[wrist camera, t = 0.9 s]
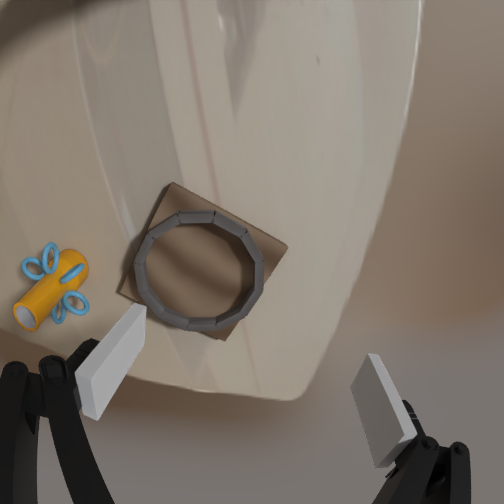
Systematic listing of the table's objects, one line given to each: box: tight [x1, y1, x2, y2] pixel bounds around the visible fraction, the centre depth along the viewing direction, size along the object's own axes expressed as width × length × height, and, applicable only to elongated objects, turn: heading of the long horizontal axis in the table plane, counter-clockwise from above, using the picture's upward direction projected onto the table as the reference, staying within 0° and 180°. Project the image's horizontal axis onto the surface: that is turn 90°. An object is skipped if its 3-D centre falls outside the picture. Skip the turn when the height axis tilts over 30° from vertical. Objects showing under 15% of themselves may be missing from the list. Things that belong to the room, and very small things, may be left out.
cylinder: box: [13, 242, 89, 332], centre depth 33 cm, size 12×10×15 cm
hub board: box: [120, 182, 288, 341], centre depth 40 cm, size 18×18×4 cm
